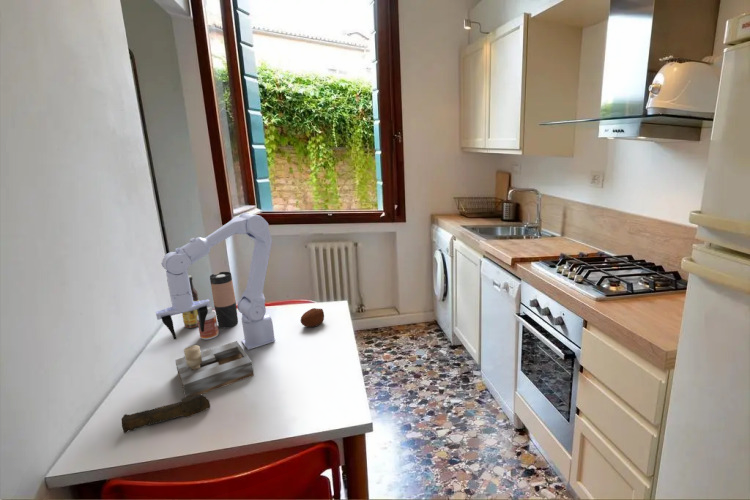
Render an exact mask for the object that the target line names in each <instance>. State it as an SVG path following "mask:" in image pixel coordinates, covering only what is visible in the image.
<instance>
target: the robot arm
mask: <svg viewBox="0 0 750 500" xmlns="http://www.w3.org/2000/svg"><path fill="white" fill-rule="evenodd" d="M269 225H270V224H269V223H268V221H267V220H266V219H265V218H264V217H262V215H258V214H257V215H256V214H252V213H249V212H243V213H241V214H240V215H239V216H235V217H234V218H232V219H231V220H229V221H228V222H227V223H225V224H224V225H222V226H220V227H219V228H218V229H216V230H214V231H213V232H212V233H210V234H209V235H207V236H206V237H200V236H198V237H196V238H195V237H191V238H190V239H189V241H190V242H188V243H186V244H184V245H182V246H181V247H177V248H176V247H175V249H174V250H175V251H169V252H168V253H166V254H165V255H164V256H163V258H162V260H161V261H162V262H161V267H162V268H163V269H164V270H165V272H166V274H165V276H166V281H167V286H168V291H169V297H170V302H171V306H170V307H166V308H164V309H161V310H158V311H157V310H156V311H155V316H156V320H157V321H159V320H161V322H162V324H164V325H165V327H166V328H167V329H168V330H169V332H170V334H171V335H172V338H173V340H177V339H178V338H177V334H176V332H175V328H174V322H173V319H172V316H175V315H181V314H182V313H184V312H188V311H192V310H196V309H197V312H198V316H199V323H200V330H201V331H202V332H203V331H204V324H205V319H206V316H207V313H208V309H207V307H211V306H212V305H211V301H210V299H208V298H207V299H203V300H199V301H194V302H193V297H192V291H191V286H190V281H189V276H188V275H189V272H188V269H189V267H190V265H191V266H192V265H193V264H194V263H196V262H198V261H199V260H201V259H203V258H204V257H206V256H207V255H209V254H211V249H212V247H214V246H215V245H218V244H219V243H221V242H222V241H223V242H224V241H225V240H227V239H229V238H231V237H232V236H233V235H247V236H248V237H249V238H250V240H252V242H253V243H254V246H253V251H252V256H251V261H250V267H249V273H248V277H247V278H248V279H247V283H246V288H245V290H244V291H243V292H242V294H241V298H240V299H239V300H238V302H237V305H236V308H237V311H238V312H239V313H240V314H241V324H242V330H243V337H244V339H241V342H242V344H243V346H245V348H246V350H249V351H250V350H251V349H256V348H258V347H261V346H265V345H268V344H271V343H274V342H276V339H275V331H274V325H273V320H272V317H271V315H270V314H269V313H266V312H267V308H266V305H265V304H266V297H265V295H264V287H265V281H266V276H267V269H268V265H269V260H270V253H271V249H272V244H273V238H272V235H271V232H270V228H269Z"/></svg>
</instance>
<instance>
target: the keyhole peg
mask: <svg viewBox="0 0 750 500" xmlns="http://www.w3.org/2000/svg"><path fill="white" fill-rule="evenodd" d="M200 347H201V346H199V344H198V345H190V346H187V347H185V348H184V350H183V353H184V357H185V358H186V363H187V366H188V367H191V370H195V369H198V368H200V364H201V363H202V357H201V352H202V351H201V348H200Z"/></svg>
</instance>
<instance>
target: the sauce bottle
mask: <svg viewBox="0 0 750 500" xmlns="http://www.w3.org/2000/svg"><path fill="white" fill-rule="evenodd" d="M188 276H189V281H190V286H191V291H192V297H193V302H194V301H200V300H199V294H198V291H197V290H196V289H195V288H194V283H193V276H192V275H190V274H188ZM181 314H182V320H183V324H184V328H187V329H194V328H197V327H198V322H197V315H198V312H197V309H196V310H192V311H188V312H184V313H181Z"/></svg>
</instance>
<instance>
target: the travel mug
mask: <svg viewBox="0 0 750 500" xmlns="http://www.w3.org/2000/svg"><path fill="white" fill-rule="evenodd" d="M209 281H210V287H211V295H212V300H213V305H214V312H215V315H216V320H217V326H218V328H220V329H228V328H232V327H235V326H236V325H237V324H239V317H238V307H237V302H236V300H237V299H236V296H235V291H234V282H233V277H232V272H230V271H220V272H218V273H217V274H214V273H213V274H210V275H209Z"/></svg>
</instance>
